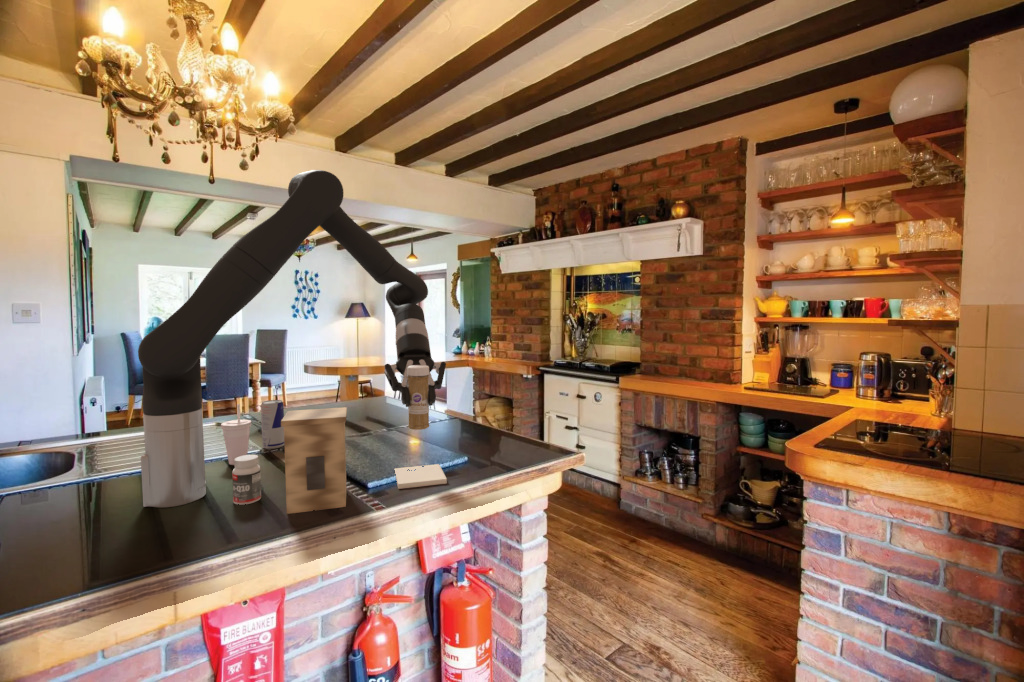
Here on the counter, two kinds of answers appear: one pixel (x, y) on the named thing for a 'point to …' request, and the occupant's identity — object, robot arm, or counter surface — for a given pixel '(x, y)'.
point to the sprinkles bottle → (418, 396)
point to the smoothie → (236, 437)
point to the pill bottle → (246, 480)
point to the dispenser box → (315, 459)
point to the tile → (420, 476)
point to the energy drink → (272, 424)
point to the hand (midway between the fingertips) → (419, 403)
